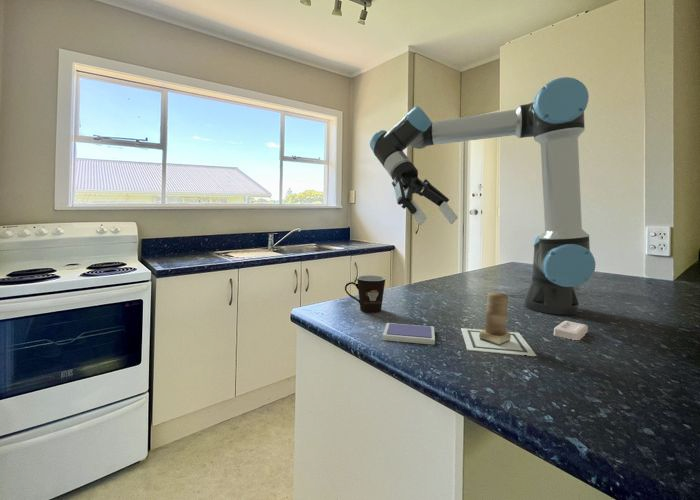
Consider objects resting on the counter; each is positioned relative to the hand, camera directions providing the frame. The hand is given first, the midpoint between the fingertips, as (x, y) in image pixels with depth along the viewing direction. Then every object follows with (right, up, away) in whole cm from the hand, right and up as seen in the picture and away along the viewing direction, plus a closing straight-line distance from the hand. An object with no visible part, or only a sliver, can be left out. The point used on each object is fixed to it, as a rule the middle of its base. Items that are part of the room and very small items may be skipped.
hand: (439, 221), depth 94 cm
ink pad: (-10, -29, -10) cm, 32 cm away
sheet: (+9, -30, -14) cm, 34 cm away
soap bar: (+31, -30, -8) cm, 44 cm away
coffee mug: (-20, -27, +11) cm, 35 cm away
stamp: (+9, -29, -13) cm, 34 cm away
